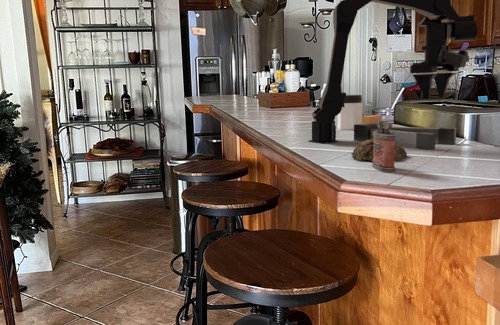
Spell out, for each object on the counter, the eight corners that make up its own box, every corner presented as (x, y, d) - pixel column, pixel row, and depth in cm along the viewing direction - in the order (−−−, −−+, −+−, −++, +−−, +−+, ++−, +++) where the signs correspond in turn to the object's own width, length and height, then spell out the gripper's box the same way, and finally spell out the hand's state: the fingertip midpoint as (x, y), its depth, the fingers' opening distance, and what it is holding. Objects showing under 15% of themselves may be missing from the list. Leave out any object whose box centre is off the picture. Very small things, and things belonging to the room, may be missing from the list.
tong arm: (454, 144, 128) (454, 128, 127) (383, 141, 138) (383, 126, 137) (455, 143, 130) (456, 127, 129) (385, 140, 140) (385, 125, 139)
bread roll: (358, 153, 122) (358, 134, 121) (409, 156, 116) (410, 135, 115) (343, 162, 111) (343, 140, 110) (399, 165, 105) (399, 143, 104)
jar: (348, 130, 168) (349, 96, 165) (332, 129, 174) (332, 95, 172) (367, 128, 172) (367, 94, 170) (350, 127, 179) (350, 94, 177)
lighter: (369, 165, 104) (369, 119, 102) (384, 164, 105) (385, 118, 103) (382, 172, 96) (383, 122, 95) (398, 172, 97) (399, 122, 95)
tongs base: (426, 151, 120) (427, 131, 119) (353, 141, 141) (354, 124, 140) (449, 147, 125) (450, 128, 124) (375, 138, 146) (375, 122, 145)
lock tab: (369, 123, 138) (369, 116, 137) (361, 123, 140) (361, 116, 140) (381, 122, 140) (381, 115, 140) (373, 121, 143) (373, 115, 143)
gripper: (450, 39, 123) (448, 100, 126) (478, 40, 136) (476, 96, 139) (409, 42, 131) (408, 100, 133) (439, 43, 144) (438, 96, 146)
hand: (434, 98), depth 138 cm, fingers open, 9 cm apart
